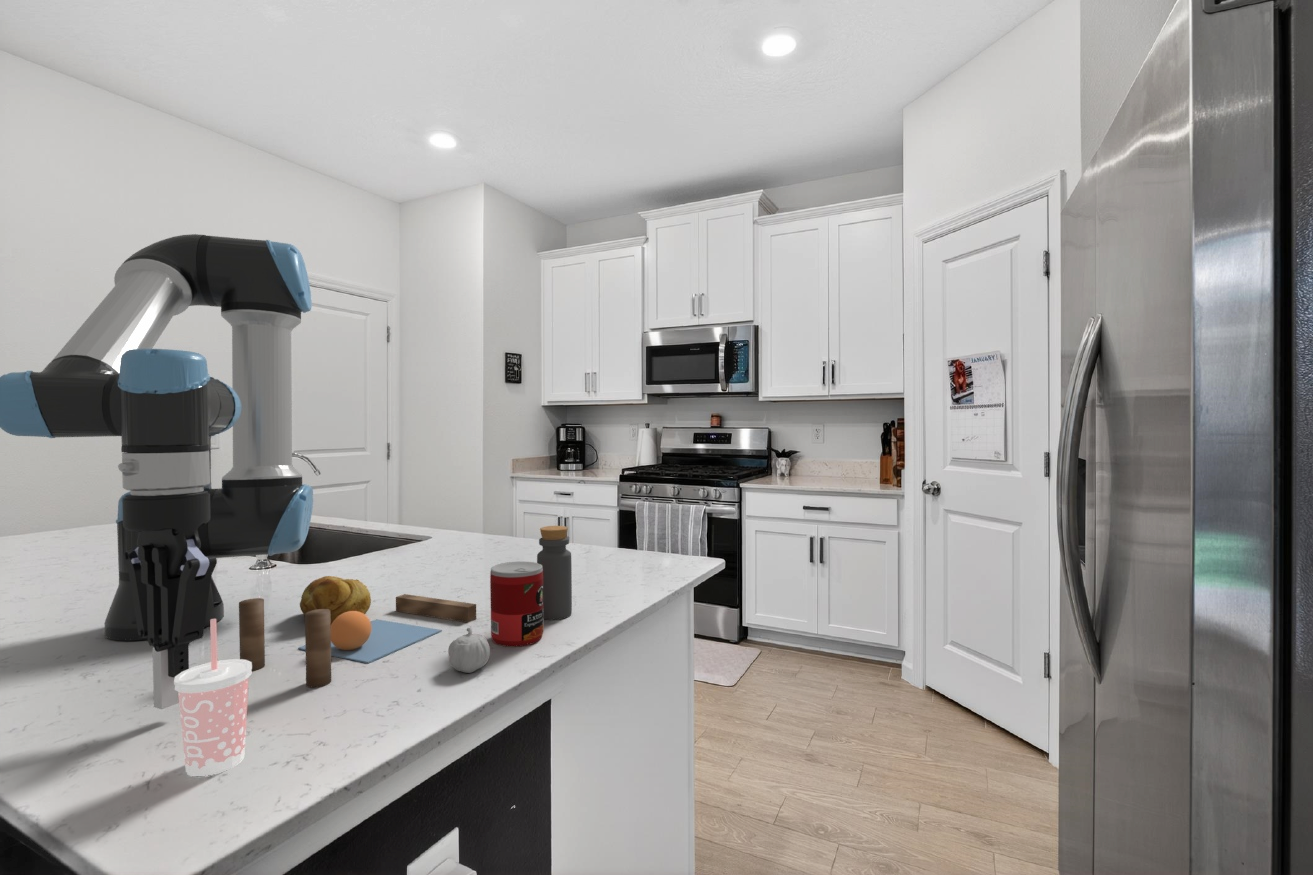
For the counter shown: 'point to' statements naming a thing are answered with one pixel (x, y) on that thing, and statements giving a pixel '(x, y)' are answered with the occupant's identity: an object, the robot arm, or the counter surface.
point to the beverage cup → (213, 712)
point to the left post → (252, 632)
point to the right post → (318, 647)
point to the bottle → (556, 572)
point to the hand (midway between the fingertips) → (171, 702)
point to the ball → (350, 630)
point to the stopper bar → (436, 607)
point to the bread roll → (335, 596)
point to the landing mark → (384, 641)
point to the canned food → (516, 603)
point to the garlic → (469, 652)
